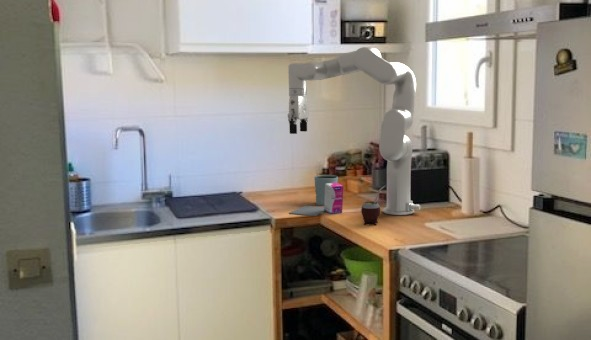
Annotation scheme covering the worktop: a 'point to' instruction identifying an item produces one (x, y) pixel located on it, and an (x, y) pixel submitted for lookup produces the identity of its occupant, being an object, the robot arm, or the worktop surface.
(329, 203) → the supplement box
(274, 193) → the worktop surface
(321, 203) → the grey plant pot
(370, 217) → the mate gourd
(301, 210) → the mat
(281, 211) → the worktop surface
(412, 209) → the robot arm
